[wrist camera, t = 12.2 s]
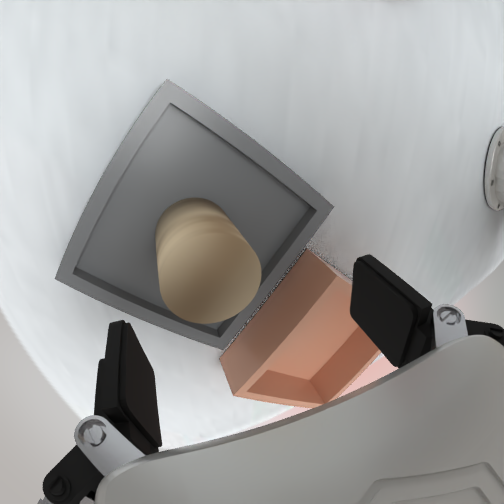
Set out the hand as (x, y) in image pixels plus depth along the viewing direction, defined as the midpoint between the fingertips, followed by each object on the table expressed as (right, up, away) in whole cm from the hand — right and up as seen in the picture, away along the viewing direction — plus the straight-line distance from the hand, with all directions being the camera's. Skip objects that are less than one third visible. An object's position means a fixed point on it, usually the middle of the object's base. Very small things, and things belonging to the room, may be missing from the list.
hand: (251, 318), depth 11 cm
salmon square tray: (+5, -5, +16) cm, 18 cm away
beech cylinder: (-4, +4, +8) cm, 9 cm away
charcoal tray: (-4, +4, +8) cm, 10 cm away
